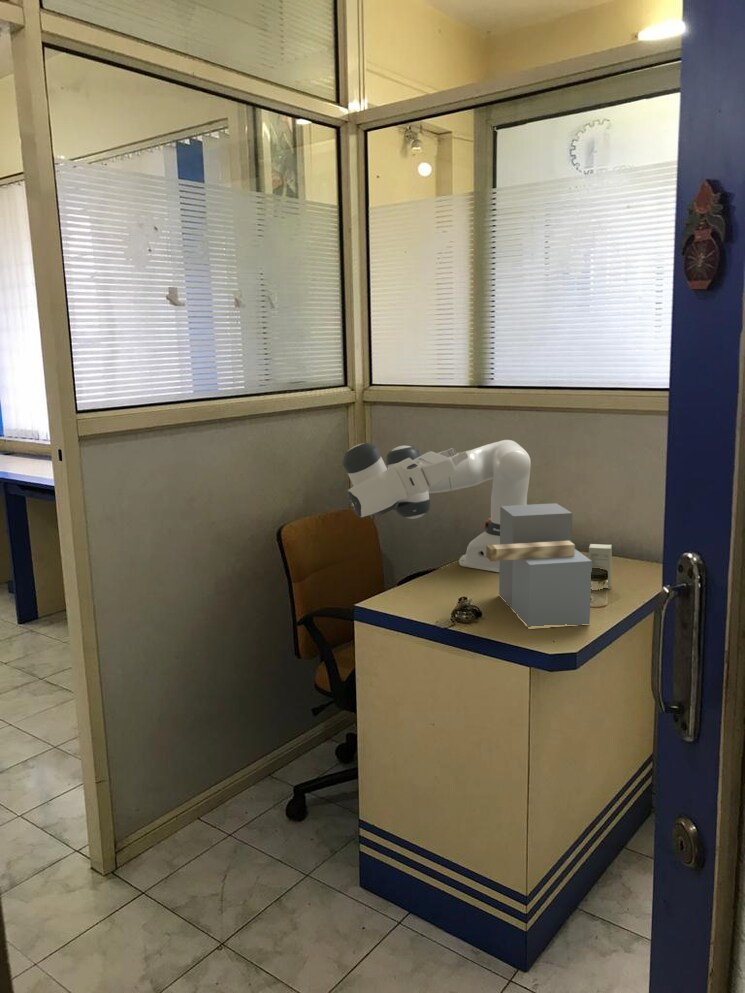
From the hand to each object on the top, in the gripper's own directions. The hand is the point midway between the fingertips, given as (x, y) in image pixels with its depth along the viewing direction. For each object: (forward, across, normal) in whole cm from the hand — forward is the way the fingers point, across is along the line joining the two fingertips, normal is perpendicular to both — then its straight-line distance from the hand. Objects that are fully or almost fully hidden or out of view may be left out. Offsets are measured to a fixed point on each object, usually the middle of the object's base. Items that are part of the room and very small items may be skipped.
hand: (460, 452), depth 202 cm
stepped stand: (+5, -7, -50) cm, 51 cm away
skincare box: (+27, -22, -58) cm, 68 cm away
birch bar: (+6, 0, -32) cm, 33 cm away
